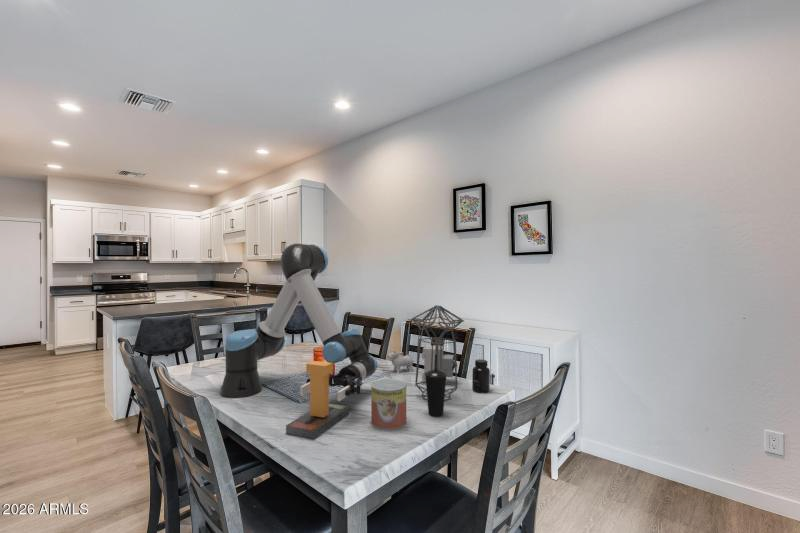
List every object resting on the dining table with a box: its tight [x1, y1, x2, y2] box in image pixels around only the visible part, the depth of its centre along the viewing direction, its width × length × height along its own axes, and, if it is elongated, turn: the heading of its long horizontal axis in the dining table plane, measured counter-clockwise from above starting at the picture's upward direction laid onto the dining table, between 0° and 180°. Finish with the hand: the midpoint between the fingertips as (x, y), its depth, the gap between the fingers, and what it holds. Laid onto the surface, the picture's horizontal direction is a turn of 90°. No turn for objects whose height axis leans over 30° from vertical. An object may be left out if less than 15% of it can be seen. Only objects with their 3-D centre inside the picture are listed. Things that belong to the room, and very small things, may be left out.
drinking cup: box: [424, 354, 448, 418], centre depth 129 cm, size 8×8×20 cm
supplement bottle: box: [471, 359, 491, 394], centre depth 153 cm, size 7×7×12 cm
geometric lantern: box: [410, 304, 465, 402], centre depth 145 cm, size 16×16×35 cm
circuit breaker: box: [421, 344, 458, 386], centre depth 163 cm, size 8×14×15 cm, turn 78°
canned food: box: [370, 379, 408, 431], centre depth 122 cm, size 11×11×12 cm
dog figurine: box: [386, 349, 414, 374], centre depth 181 cm, size 5×13×11 cm, turn 114°
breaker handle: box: [305, 360, 333, 418], centre depth 121 cm, size 4×7×16 cm, turn 68°
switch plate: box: [285, 403, 350, 440], centre depth 121 cm, size 20×10×3 cm, turn 158°
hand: (319, 393), depth 120 cm, fingers open, 13 cm apart
